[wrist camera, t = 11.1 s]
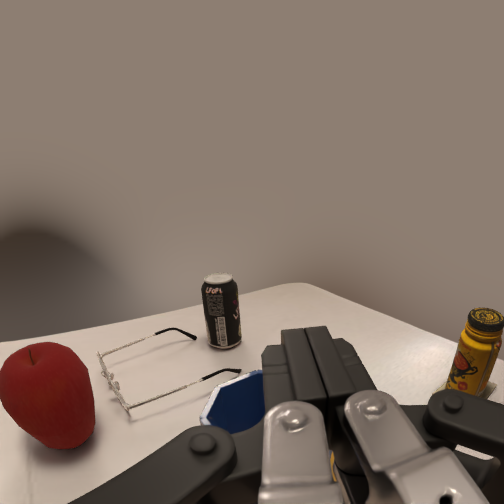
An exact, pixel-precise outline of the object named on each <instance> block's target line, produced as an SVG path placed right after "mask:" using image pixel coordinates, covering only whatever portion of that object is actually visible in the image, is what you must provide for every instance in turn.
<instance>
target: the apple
mask: <svg viewBox="0 0 504 504" xmlns="http://www.w3.org/2000/svg"><path fill="white" fill-rule="evenodd" d="M0 399H1V402H2V405H3V407H4V409H5V410H6V411H7V412H8V414H9V415H10V416H11V417H12V418H13V420H14V421H15V422H16V423H17V424H18V425H19V427H21V428H22V429H23V430H25V431H26V432H27V433H29V434H30V435H31V436H33V437H34V438H36V439H37V440H39V441H40V442H41V443H43V444H44V445H45V446H47V447H48V448H54V449H71V448H75V447H77V446H80V445H81V444H82V443H83V442H85V441H86V439H87V438H88V437H89V436H90V435H91V434H92V433H93V430H94V426H95V406H94V397H93V391H92V387H91V382H90V378H89V373H88V369H87V367H86V366H85V365H84V364H83V362H82V361H81V360H80V358H79V357H78V356H77V355H76V354H75V353H74V352H73V351H72V350H71V349H70V348H68V347H66V346H63V345H60V344H58V343H52V342H42V343H36V344H32V345H28V346H26V347H24V348H22V349H20V350H18V351H16V352H15V353H13V354H12V355H10V356H9V357H8V358H7V359H6V360H5V362H4V364H3V366H2V368H1V370H0Z"/></svg>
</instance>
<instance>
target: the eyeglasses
mask: <svg viewBox="0 0 504 504" xmlns="http://www.w3.org/2000/svg"><path fill="white" fill-rule="evenodd" d="M169 330H177V331H179V332H181V333H183V334H184V335H186V336H188V337H190V338H192V339H194V340H196V339H197V337H196V336H194V335H192V334H190V333H187V332H185V331H183V330H180V329H178V328H168V329H165V330H162V331H159V332H156V333H154V334H153V335H151V336H155V335H158V334H161V333H163V332H166V331H169ZM151 336H149V337H151ZM149 337H146V338H149ZM146 338H142V339H140V340H137V341H135V342H132V343H129V344H127V345H124V346H121V347H119V348H116V349H113V350H111V351H108V352H105V353H103V354H99V352H96V353H97V356H98V359H99V362H100V364H101V366H102V369H103V371H102V372H101V374H102V373H103V372H104V375H105V376H104V375H103V374H102V375H103V376H104V377H106V378H107V379H108V383H109V385H111V387H112V389H113V391H114V393H115V394H116V396H117V398H118V399H119V401H120V402H121V404H122V405H123V407H124V409H125V410H127V411H129V409H132V408H135V407H137V406H140V405H143V404H146V403H148V402H151V401H154V400H156V399H159V398H162V397H164V396H167V395H169V394H172V393H174V392H177V391H179V390H182V389H184V388H187V386H190V385H192V384H195V383H197V382H201V381H204V380H206V379H209V378H211V377H213V376H215V375H217V374H219V373H221V372H224V371H230V372H234V373H240V372H241V370H242V369H229V368H227V369H222V370H219V371H217V372H215V373H212V374H210V375H208V376H205V377H203V378H201V379H200V380H198V381H196V382H194V383H192V384H189V385H185V386H183V387H180V388H178V389H175V390H172V391H170V392H167V393H165V394H162V395H159V396H156V397H154V398H151V399H148V400H145V401H143V402H140V403H137V404H134V405H129V404H126V403H125V401H124V399H123V398H122V396H121V394H120V393H119V391H118V390H120V387H119V383H118V382H117V381H115V385H114V383H113V382H112V379H113V378H114V374H113V373H112V374H110V376H109V374H108V373H109V372H108V371H107V369H106V367H105V364H104V362H103V360H102V358H103V356H104V355H107V354H110V353H112V352H115V351H117V350H120V349H122V348H125V347H127V346H130V345H132V344H135V343H137V342H140V341H142V340H144V339H146ZM101 361H102V362H101ZM102 364H103V365H102ZM103 366H104V367H103ZM104 368H105V369H104ZM110 377H111V378H110ZM115 390H116V391H117V392H116V391H115ZM117 393H118V394H117ZM118 395H119V396H120V397H119V396H118ZM120 398H121V399H120ZM122 401H123V402H122Z"/></svg>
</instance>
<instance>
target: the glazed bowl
mask: <svg viewBox="0 0 504 504" xmlns="http://www.w3.org/2000/svg"><path fill="white" fill-rule="evenodd" d="M264 414H265V403H264V390H263V373H262V370H257V371H256V370H254V371H252V372H250V373H247V374H245V375H242V376H240V377H238V378H235V379H233V380H230V381H227V382H225V383H222V384H220V385H217V387H215V388H214V390H213V392H212V394H211V396H210V398H209V400H208V402H207V404H206V406H205V408H204V410H203V412H202V414H201V416H200V423H201V425H212V426H217V427H220V428H222V429H224V430H226V431H227V432H229V433H230V434H234V433H238V432H241V431H245V430H247V429H250V428H252V427H253V426H255V425H256V424H258V423H259V422H260V421H261V419H262V418H263V416H264ZM329 455H330V459H331V455H332V450H329Z"/></svg>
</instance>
